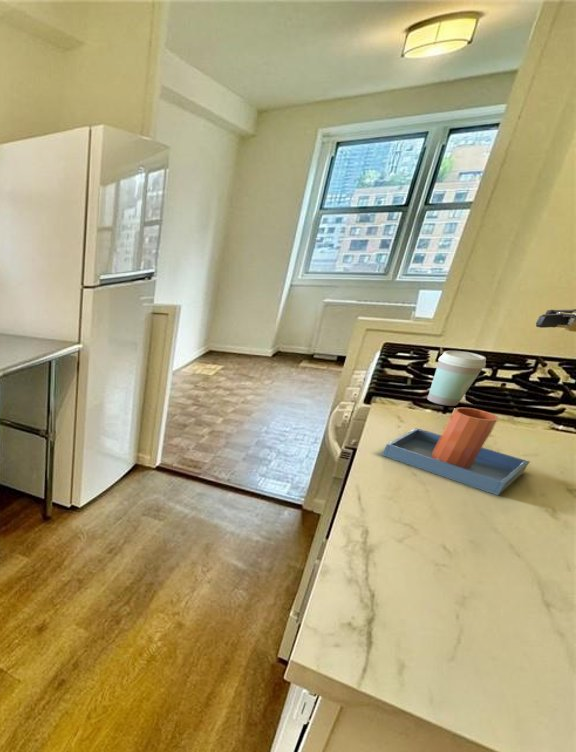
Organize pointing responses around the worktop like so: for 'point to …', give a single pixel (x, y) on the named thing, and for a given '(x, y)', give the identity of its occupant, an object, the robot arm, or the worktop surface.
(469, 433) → the tumbler
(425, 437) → the tray
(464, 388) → the coffee cup
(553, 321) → the robot arm
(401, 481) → the worktop surface
